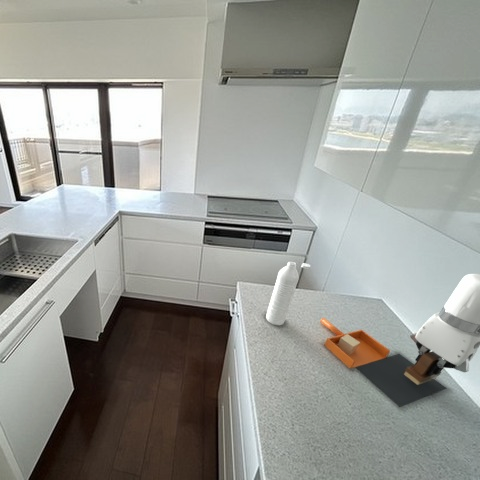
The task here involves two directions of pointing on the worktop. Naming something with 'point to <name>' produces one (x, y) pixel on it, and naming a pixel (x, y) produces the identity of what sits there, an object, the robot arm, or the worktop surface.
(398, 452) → the worktop surface
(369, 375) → the mat
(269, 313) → the water bottle
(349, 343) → the clay clod
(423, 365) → the brush
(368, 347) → the dustpan
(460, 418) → the worktop surface
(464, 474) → the worktop surface
